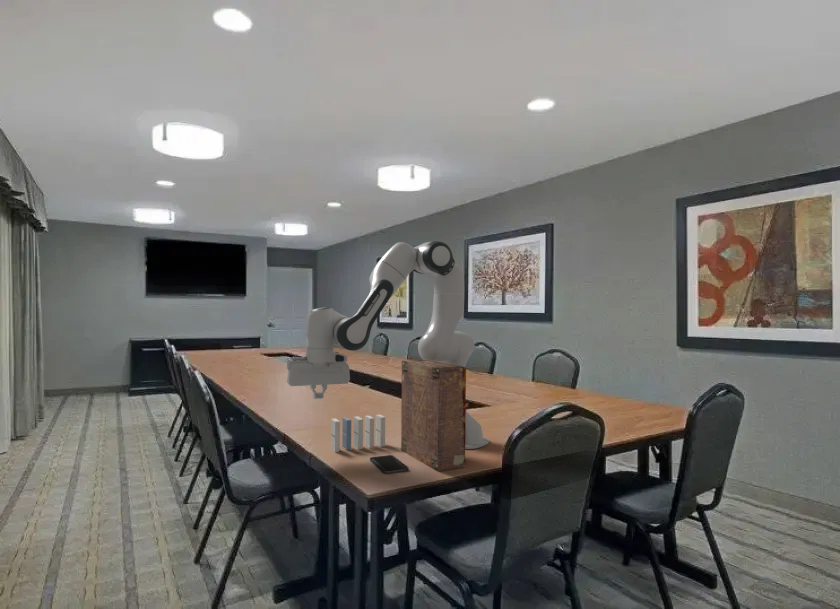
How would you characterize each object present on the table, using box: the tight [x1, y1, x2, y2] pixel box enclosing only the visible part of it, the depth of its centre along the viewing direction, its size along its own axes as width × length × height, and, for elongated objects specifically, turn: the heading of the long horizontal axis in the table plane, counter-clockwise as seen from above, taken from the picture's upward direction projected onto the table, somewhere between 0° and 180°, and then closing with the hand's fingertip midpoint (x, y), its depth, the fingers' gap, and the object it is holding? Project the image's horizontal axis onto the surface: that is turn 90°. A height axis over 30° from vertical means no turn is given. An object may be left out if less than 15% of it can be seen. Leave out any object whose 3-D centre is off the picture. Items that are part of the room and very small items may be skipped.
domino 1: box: [330, 417, 341, 453], centre depth 169 cm, size 2×5×10 cm, turn 25°
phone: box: [369, 454, 409, 475], centre depth 153 cm, size 8×1×15 cm
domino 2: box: [341, 416, 352, 451], centre depth 171 cm, size 2×5×10 cm, turn 25°
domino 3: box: [353, 416, 364, 450], centre depth 173 cm, size 2×5×10 cm, turn 25°
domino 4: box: [364, 415, 375, 449], centre depth 174 cm, size 2×5×10 cm, turn 25°
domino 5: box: [375, 414, 386, 448], centre depth 176 cm, size 2×5×10 cm, turn 26°
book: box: [400, 359, 467, 472], centre depth 161 cm, size 25×9×30 cm, turn 28°
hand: (318, 398), depth 167 cm, fingers closed
